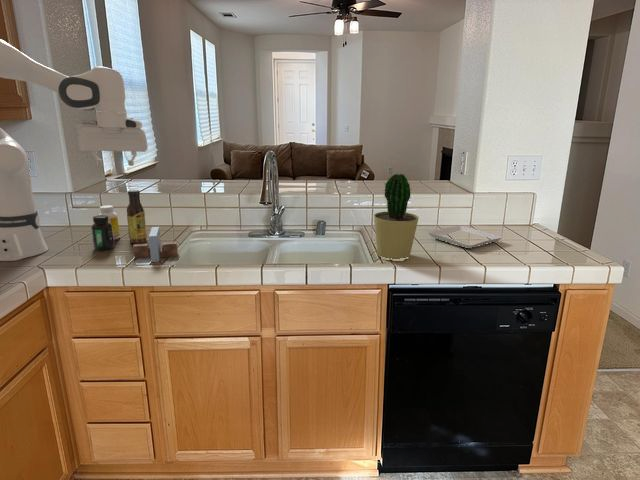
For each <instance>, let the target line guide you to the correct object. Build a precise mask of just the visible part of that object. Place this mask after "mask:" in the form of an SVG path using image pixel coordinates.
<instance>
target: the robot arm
mask: <svg viewBox="0 0 640 480" xmlns="http://www.w3.org/2000/svg"><path fill="white" fill-rule="evenodd" d="M0 78H2V79H8V80H15V81H22V82H26V83H31V84H33V85H34V84H35V85H37V86H40V87H42V88H44V89H46V90H49V91H52V92H54V93H57V94H59V95H58V96H59V97H60V99H61V101H62V102H63V103H64V104H65V105H66V106H68V107H71V109H76V110H83V111H85V112H86V111H87V112H89V111H90V112H91V111H95V116H96V119H95V120H80V121H79V122H77V123H76V125H75V126H76V127H75V128H76V132H77V134H78V138H77V139H78V144H77V145H78V148H79V149H80V150H81V151H85V152H86V151H91V155H92V157H93V158H94V159H95V161H96V166H103V164H104V163H103V158H100V157H98V154H99V153H98V152H99V151H100V152H130V155H131V156H132V157H131V159H128V160H127V163H128V166H134V165H135V164H134V160H135V158H136V157H137V154H138V153H143V152H144V153H145V152H147V150H148V149H149V148H148V147H149V146H148V140H147V135H146V132H145V131H144V129H142V127H143V123H142V122H141V121H140V120H137V119H134V118H132V117H128V115H127V109H126V106H125V104H126V103H125V102H126V90H125V82H124V78H123V76H122V74H121V73H120V72H119V71H118V70H116V69H113V68H109V67H107V66H106V67H105V66H102V65H98V66H97V65H96V66H93V68H91V69H90V70H87V71H86V72H83V73H80V74H76V75H71V76H68V75H67V74H66V75H65V74H64V73H61V72H59V71H56V70H55V69H52V68H50V67H47V66H45V65H43V64H41V63H39V62H37V61H36V60H34V59H32V58H30V57H29V56H28V55H26V53H25V54H24V53H23V52H22V51H20V50H19V49H17V48H16V47H15V46H12V44H10V43H8V42H6V41H5V40H3V39H1V38H0ZM40 227H41V221H40V216H39V214H38V211H37V209H36V205H35V199H34V194H33V187H32V179H31V173H30V166H29V161H28V155H27V152H26V151H25V149H24V148H23V147H22V145H20V144H19V143H18V142H17V141H16V140H15V139H13V137H12V136H10V135H9V134H8V132H6V131H5V130H4V129H2V128H1V127H0V262H8V261H10V262H11V261H12V262H14V261H15V262H16V261H20V260H23V259H25V258H30V257H34V256H38V255H41V254H43V253H46V252H47V251H48V250H49V247H48V246H47V243H46V241H45V239H44V237H43V234H42V231H41V229H40Z"/></svg>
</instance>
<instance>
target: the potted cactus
mask: <svg viewBox="0 0 640 480" xmlns="http://www.w3.org/2000/svg"><path fill="white" fill-rule="evenodd" d="M383 184H384V190H383V192H384V193H383V195H382V196H384V198H385V201H386V204H385V207H386V208H387V210H385V211H380V212H376V213H374V214H373V220H374V222H373V223H374V230H375V244H376V253H377V254H378V255H380V256H382V257H385V258H392V259H400V258H406V257H409V256H411V252H412V247H413V243H414V239H415V235H416V231H417V227H418V223H419V216H418V215H417V214H413V213H411V212H408V211H407V209H408V204H409V202H410V200H411V193H412V191H411V190H412V189H413V188H411V183H410V182H409V180H408V178H407V176H406V175H405V174H403V173H399V174H397V173H395V174H393V175H391V177H389V178H388V180H386V182H383ZM377 254H376V255H377ZM378 255H377V256H378ZM409 258H410V257H409Z"/></svg>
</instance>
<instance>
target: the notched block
mask: <svg viewBox="0 0 640 480" xmlns="http://www.w3.org/2000/svg"><path fill="white" fill-rule="evenodd" d="M132 247H133V256H134V258H133V259H135V260H141V259H140V258H142V259H151V254H150V245H149V243H133V246H132ZM159 256H160V258H167V257H168V258H170V257H178V256H179V252H178V242H177V241H169V242H168V241H167V242H163V243H162V245H161V251H159Z"/></svg>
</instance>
